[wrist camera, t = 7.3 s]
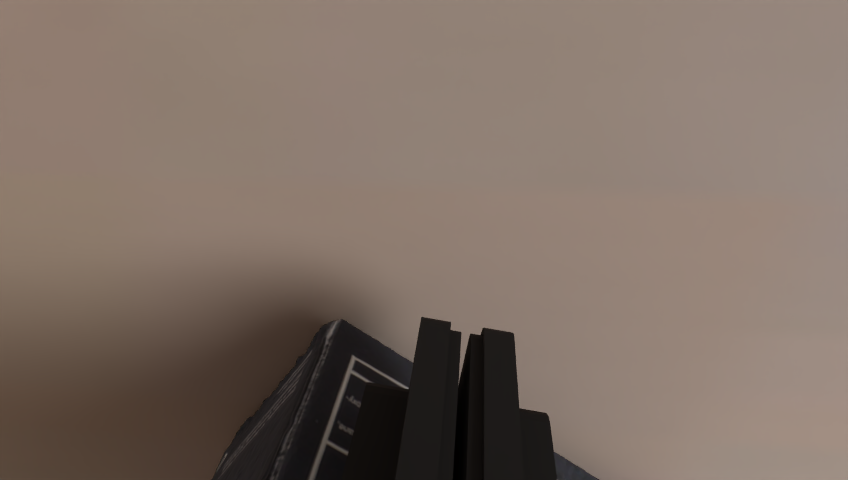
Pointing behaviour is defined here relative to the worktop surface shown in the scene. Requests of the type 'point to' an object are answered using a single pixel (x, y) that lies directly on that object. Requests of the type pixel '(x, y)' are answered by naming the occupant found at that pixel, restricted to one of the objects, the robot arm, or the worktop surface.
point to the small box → (323, 412)
